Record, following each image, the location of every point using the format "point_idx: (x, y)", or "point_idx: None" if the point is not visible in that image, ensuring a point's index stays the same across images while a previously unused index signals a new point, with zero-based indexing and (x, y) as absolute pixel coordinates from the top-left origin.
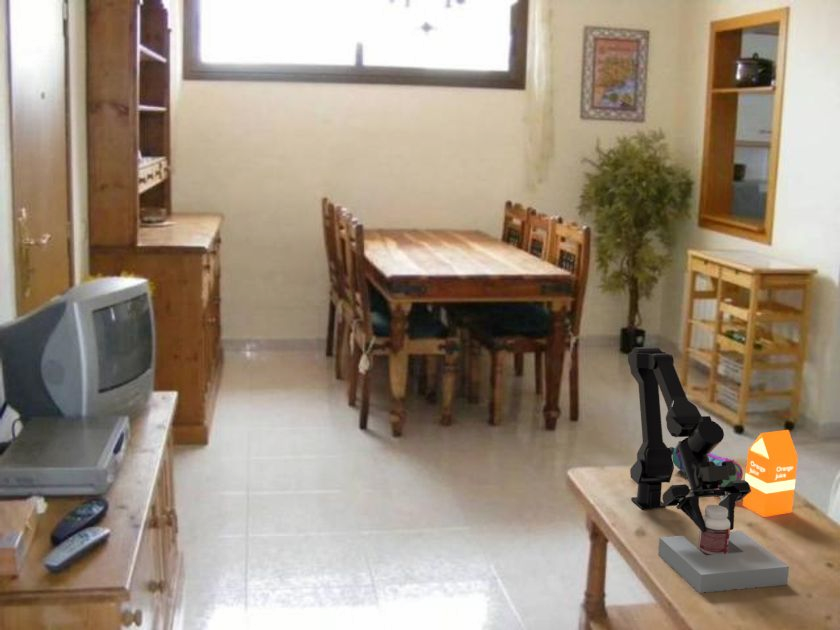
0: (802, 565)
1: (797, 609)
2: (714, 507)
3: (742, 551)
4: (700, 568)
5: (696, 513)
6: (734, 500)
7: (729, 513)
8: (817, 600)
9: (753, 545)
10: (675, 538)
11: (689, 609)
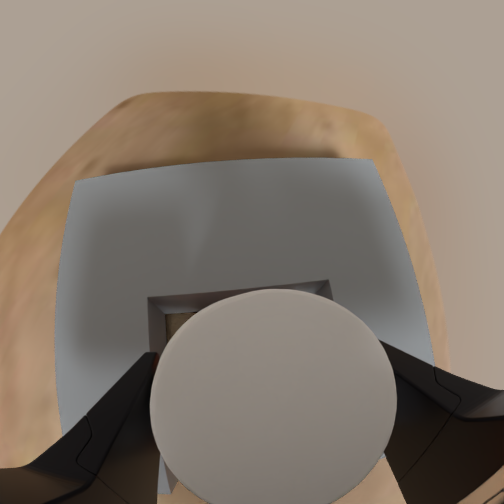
0: (4, 309)
1: (156, 120)
2: (290, 455)
3: (148, 307)
4: (368, 189)
5: (447, 373)
6: (18, 474)
7: (127, 419)
8: (91, 149)
9: (79, 348)
10: None
11: (381, 144)
